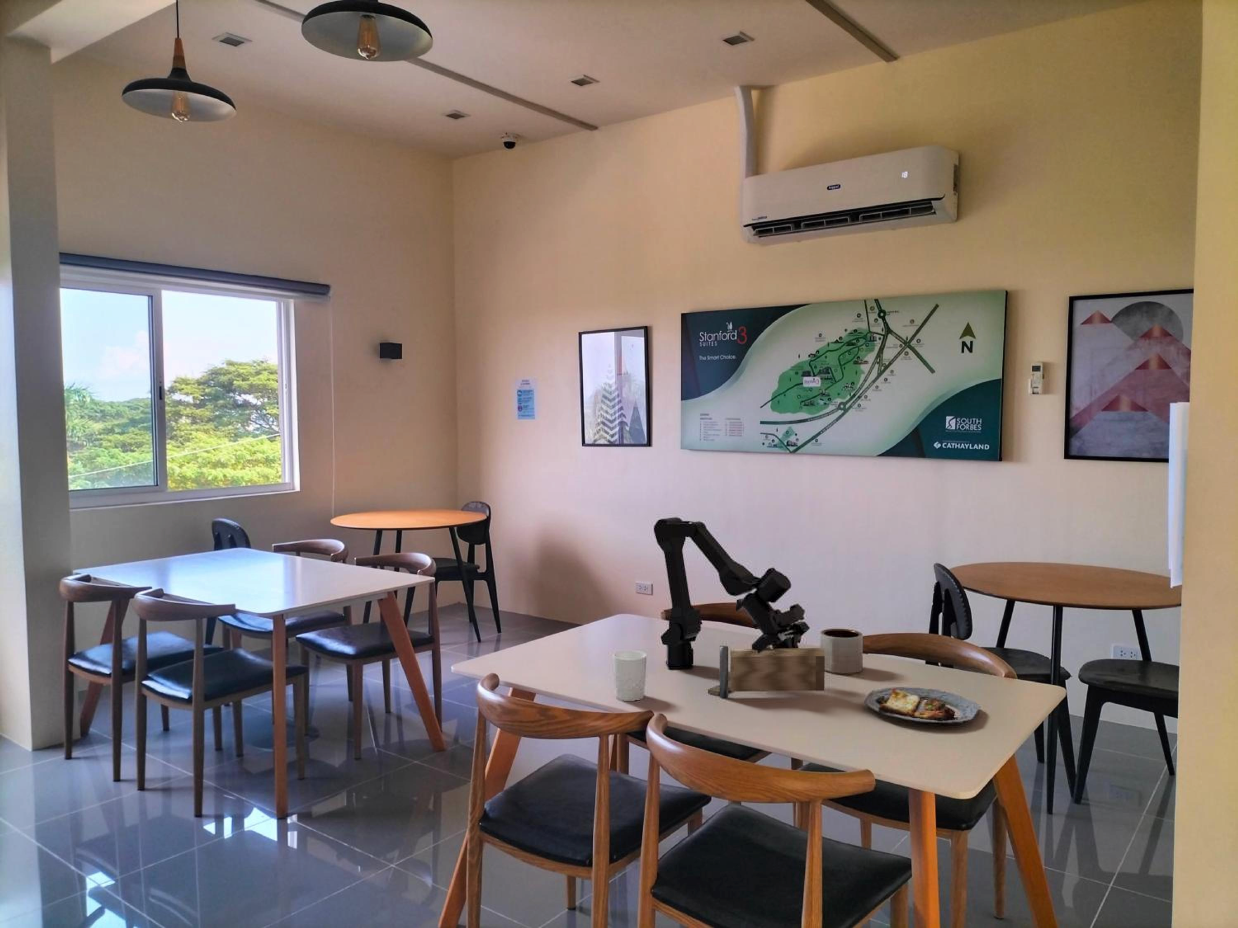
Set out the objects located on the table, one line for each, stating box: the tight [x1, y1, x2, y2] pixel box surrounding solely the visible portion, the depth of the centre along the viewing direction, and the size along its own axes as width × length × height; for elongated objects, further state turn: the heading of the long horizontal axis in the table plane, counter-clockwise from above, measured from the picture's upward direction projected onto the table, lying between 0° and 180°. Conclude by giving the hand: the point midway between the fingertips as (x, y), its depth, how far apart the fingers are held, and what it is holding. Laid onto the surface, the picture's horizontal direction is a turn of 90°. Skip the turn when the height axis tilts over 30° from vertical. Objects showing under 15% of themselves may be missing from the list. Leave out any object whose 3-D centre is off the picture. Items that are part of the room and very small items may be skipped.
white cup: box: [612, 650, 647, 702], centre depth 203 cm, size 8×8×10 cm
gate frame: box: [707, 645, 772, 699], centre depth 212 cm, size 26×6×12 cm, turn 139°
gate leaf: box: [729, 647, 826, 693], centre depth 203 cm, size 22×2×10 cm, turn 92°
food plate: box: [863, 686, 981, 725], centre depth 192 cm, size 25×23×4 cm
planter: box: [819, 628, 864, 675], centre depth 225 cm, size 11×11×10 cm
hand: (802, 667), depth 204 cm, fingers closed
